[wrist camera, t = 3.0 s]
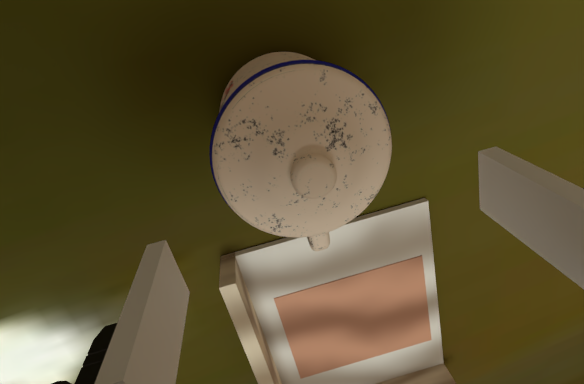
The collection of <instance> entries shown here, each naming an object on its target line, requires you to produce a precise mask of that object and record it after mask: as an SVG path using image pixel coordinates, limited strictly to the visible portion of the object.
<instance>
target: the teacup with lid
mask: <svg viewBox="0 0 584 384" xmlns="http://www.w3.org/2000/svg"><path fill="white" fill-rule="evenodd" d="M391 151H392V141H391V131H390V125H389V122H388V118H387V115H386V112H385V110H384V108H383V106H382V104H381V102H380V100H379V99H378V97H377V96H376V94H375V93H374V92H373V90H372V89H371V88H370V87H369V86H368V85H367V84H366V83H365V82H364V81H363V80H362V79H360V78H359V77H358V76H356V75H355V74H353V73H352V72H350V71H348V70H346V69H344V68H342V67H340V66H338V65H335V64H332V63H328V62H323V61H318V60H314V59H312V58H310V57H308V56H305V55H302V54H299V53H294V52H273V53H268V54H265V55H262V56H259V57H257V58H255V59H253V60H251V61H250V62H248V63H247V64H245V65H244V66H243V67H242V68H240V69H239V70H238V71H237V72H236V74H235V75H234V76H233V77H232V79H231V80H230V81H229V83H228V85H227V87H226V89H225V91H224V93H223V96H222V100H221V104H220V111H219V114H218V116H217V119H216V121H215V124H214V127H213V131H212V135H211V141H210V165H211V170H212V174H213V178H214V181H215V183H216V186H217V188H218V190H219V192H220V194H221V196H222V197H223V199H224V200H225V202H226V203H227V204H228V205H229V207H230V208H231V209H232V210H233V211H234V212H235V213H236V214H237V215H238V216H239V217H241V218H242V219H243V220H244V221H246V222H247V223H249V224H250V225H252V226H254V227H256V228H258V229H260V230H262V231H264V232H267V233H270V234H274V235H278V236H283V237H296V238H299V237H307V239H308V242H309V245H310V247H311V249H312V250H314V251H321V250H324V249H327V248H328V247H329V245H330V236H329V232H330V231H333V230H335V229H337V228H339V227H341V226H343V225H345V224H347V223H348V222H350V221H351V220H353V219H354V218H355V217H357V216H358V215H359V214H360V213H361V212H362V211H363V210H364V209H365V208H366V207H367V206H368V205H369V204H370V203H371V202H372V200H373V199H374V198H375V196H376V195H377V193H378V192H379V190H380V188H381V186H382V184H383V182H384V180H385V177H386V175H387V172H388V169H389V164H390V160H391Z"/></svg>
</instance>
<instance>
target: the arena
mask: <svg viewBox="0 0 584 384" xmlns="http://www.w3.org/2000/svg"><path fill="white" fill-rule="evenodd" d="M329 236H330V245H329V247H328V248H327V249H324V250H321V251H314V250H312V249H311V247H310V245H309V242H308V239H307V237H299V238H296V237H286V238H283V239H279V240H276V241H272V242H269V243H265V244H262V245H258V246H255V247H251V248H248V249H244V250H241V251H237V252H234V253H230V254H227V255H223V256H220V278H219V289H220V292H221V294H222V297H223V299H224V301H225V304H226V306H227V309H228V311H229V314H230V316H231V318H232V321H233V323H234V326H235V328H236V331H237V333H238V335H239V338H240V340H241V343H242V345H243V348H244V350H245V353H246V355H247V357H248V360H249V362H250V365H251V367H252V370H253V372H254V374H255V377H256V379H257V382H258V384H456V383H455V381H454V379H453V378H452V376H451V374H450V373H449V371H448V370H447V368H446V366H445V365H444V362H443V351H442V341H441V331H440V320H439V310H438V299H437V289H436V278H435V268H434V257H433V247H432V236H431V226H430V216H429V205H428V200H426V199H425V198H422V199H419V200H415V201H412V202H408V203H405V204H401V205H398V206H394V207H391V208H387V209H384V210H380V211H377V212H373V213H370V214H366V215H363V216H359V217H356V218H354V219H353V220H351V221H350V222H348V223H347V224H345V225H343V226H341V227H339V228H337V229H335V230H333V231H330V232H329Z"/></svg>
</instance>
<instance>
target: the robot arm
mask: <svg viewBox="0 0 584 384" xmlns="http://www.w3.org/2000/svg"><path fill="white" fill-rule="evenodd" d="M478 163H479V196H480V210H481V211H483V212H484V213H485V214H487V215H488V216H489V217H491V218H492V219H493V220H494V221H496V222H497V223H498V224H500V225H501V226H502V227H504V228H505V229H506V230H507V231H509V232H510V233H511V234H513V235H514V236H515V237H517V238H518V239H519V240H520V241H522V242H523V243H524V244H526V245H527V246H528V247H530V248H531V249H532V250H533V251H535V252H536V253H537V254H539V255H540V256H541V257H543V258H544V259H545V260H546V261H548V262H549V263H550V264H552V265H553V266H554V267H556V268H557V269H558V270H559V271H561V272H562V273H563V274H565V275H566V276H567V277H568V278H570V279H571V280H572V281H574V282H575V283H576V284H578V285H579V286H580V287H581V288H583V289H584V188H580V187H578V186H576V185H574V184H572V183H570V182H568V181H566V180H564V179H562V178H560V177H558V176H556V175H554V174H552V173H550V172H547V171H545V170H543V169H541V168H539V167H537V166H535V165H533V164H531V163H529V162H527V161H525V160H523V159H521V158H519V157H516V156H514V155H512V154H510V153H508V152H506V151H504V150H502V149H500V148H498V147H493V148H489V149H485V150H482V151H478ZM189 293H190V292H189V290H188V288H187V286H186V283H185V281H184V279H183V277H182V275H181V272H180V270H179V268H178V266H177V264H176V261H175V259H174V257H173V255H172V253H171V250H170V248H169V246H168V244H167V242H166V240H163V241H159V242H156V243H152V244H149V245H147V246H146V249H145V252H144V254H143V257H142V260H141V262H140V265H139V267H138V270H137V273H136V275H135V278H134V281H133V283H132V286H131V289H130V291H129V294H128V296H127V299H126V302H125V304H124V307H123V310H122V312H121V315H120V318H119V320H118V323H115V324H112V325H108V326H105V327H104V328H103V329H102V330H101V332H100V333H99V334H98V335H97V336H96V338H95V339H94V340H93V342H92V345H91V347H90V349H89V352H88V356H86V359H85V361H84V363H83V367H82V368H81V370H80V372H79V375H78V377H77V379H76V382H75V384H175V383H176V376H177V370H178V363H179V357H180V351H181V344H182V338H183V332H184V325H185V319H186V312H187V306H188V300H189ZM52 384H71V383H69V382H67V381H57V382H55V383H52Z"/></svg>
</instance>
